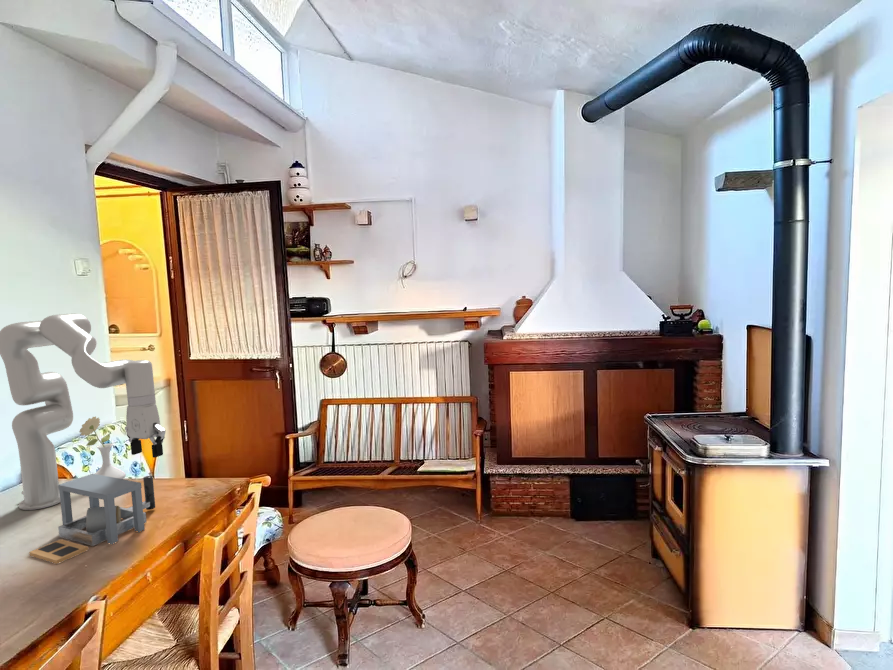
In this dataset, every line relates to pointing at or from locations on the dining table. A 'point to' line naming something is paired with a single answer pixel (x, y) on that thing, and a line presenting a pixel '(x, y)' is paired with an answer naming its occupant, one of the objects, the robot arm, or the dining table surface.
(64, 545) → the board
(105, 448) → the flower in vase
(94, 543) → the grey open frame
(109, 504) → the grey side table
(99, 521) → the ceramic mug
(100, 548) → the dining table surface
